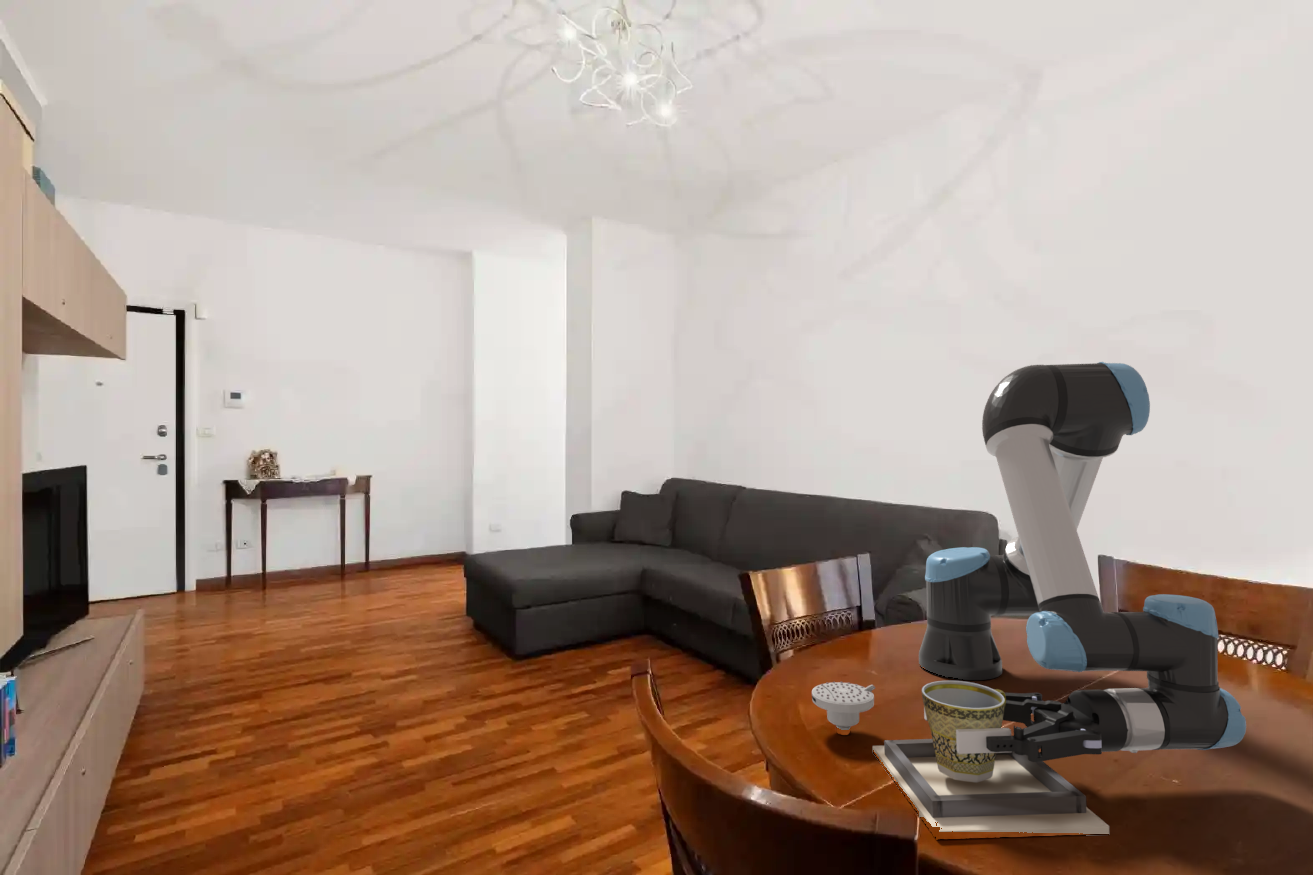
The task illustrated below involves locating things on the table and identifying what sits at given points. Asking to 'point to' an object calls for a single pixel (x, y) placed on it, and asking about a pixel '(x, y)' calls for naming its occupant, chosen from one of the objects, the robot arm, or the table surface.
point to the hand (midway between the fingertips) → (940, 724)
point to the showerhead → (843, 702)
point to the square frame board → (989, 794)
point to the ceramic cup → (962, 725)
